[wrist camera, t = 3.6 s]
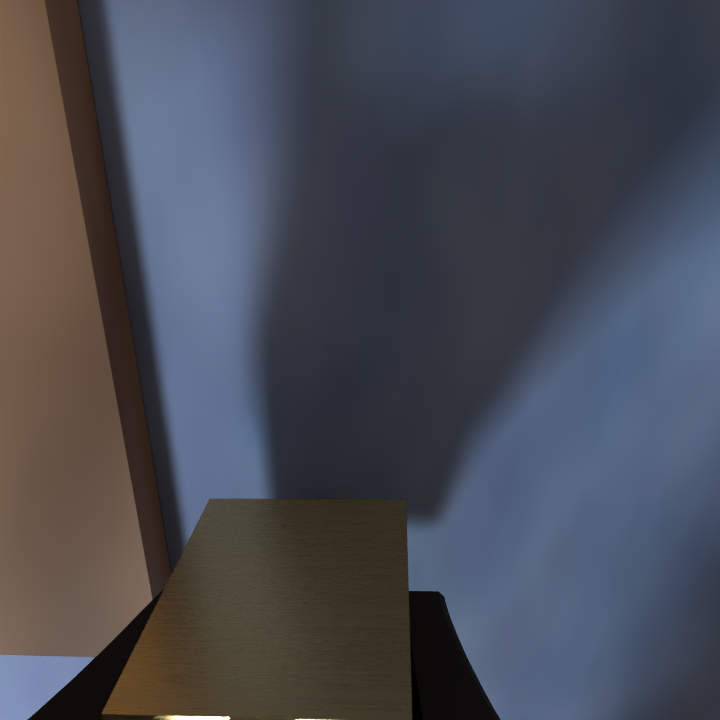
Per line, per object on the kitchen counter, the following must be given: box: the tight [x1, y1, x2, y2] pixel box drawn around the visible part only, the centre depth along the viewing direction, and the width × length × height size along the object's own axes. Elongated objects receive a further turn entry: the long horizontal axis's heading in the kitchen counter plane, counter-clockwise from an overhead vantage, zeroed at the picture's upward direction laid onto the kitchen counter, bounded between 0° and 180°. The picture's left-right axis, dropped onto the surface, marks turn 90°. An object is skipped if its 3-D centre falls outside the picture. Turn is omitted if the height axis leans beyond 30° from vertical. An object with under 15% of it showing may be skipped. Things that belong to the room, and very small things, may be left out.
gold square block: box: [102, 499, 412, 720], centre depth 11 cm, size 4×4×5 cm
